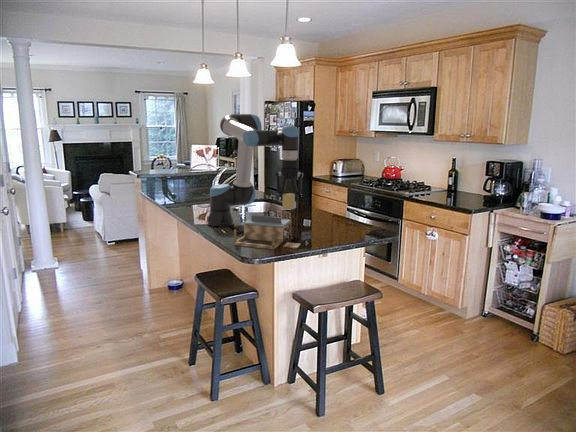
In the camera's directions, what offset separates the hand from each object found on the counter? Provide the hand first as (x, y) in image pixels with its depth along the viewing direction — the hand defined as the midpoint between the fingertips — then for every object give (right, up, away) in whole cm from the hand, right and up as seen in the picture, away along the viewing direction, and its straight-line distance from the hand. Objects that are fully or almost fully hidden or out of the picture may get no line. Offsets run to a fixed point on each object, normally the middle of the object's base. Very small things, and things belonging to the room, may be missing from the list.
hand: (289, 207), depth 211 cm
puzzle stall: (-13, -16, +14) cm, 25 cm away
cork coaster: (+1, -19, +4) cm, 19 cm away
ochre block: (0, 0, 0) cm, 0 cm away
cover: (-11, -8, +18) cm, 23 cm away
